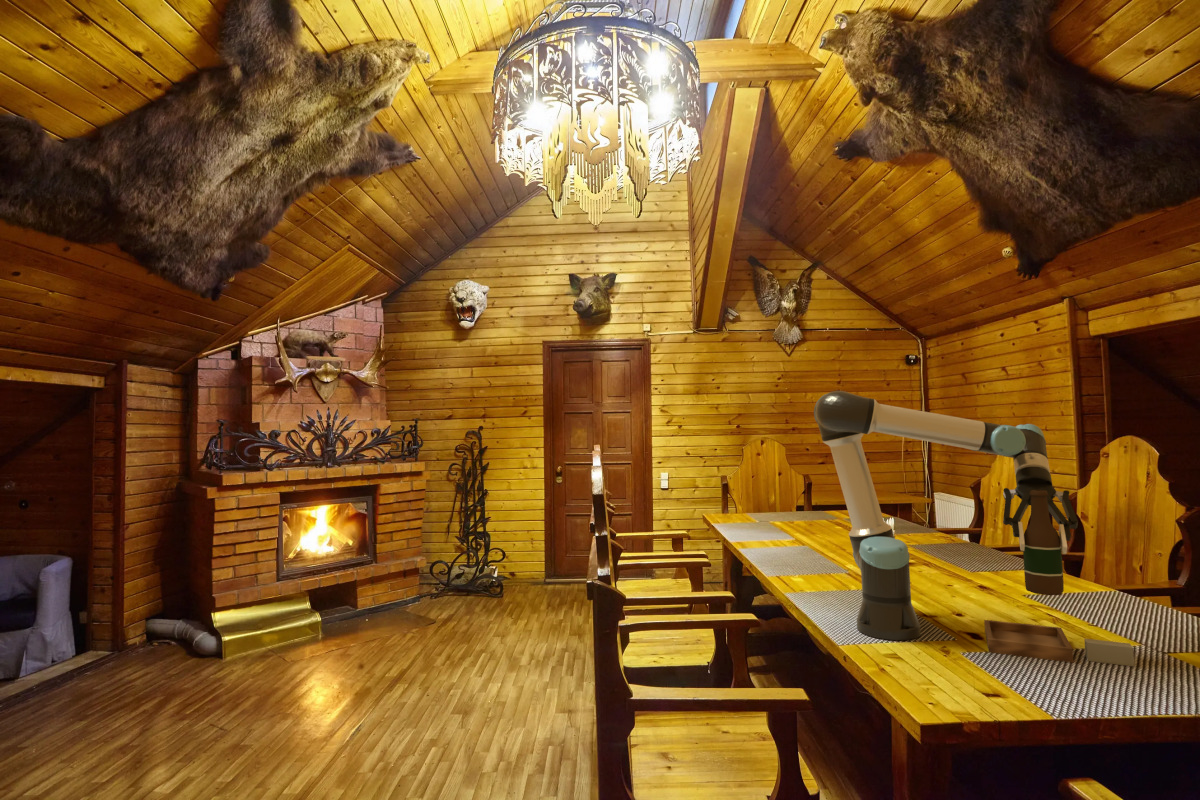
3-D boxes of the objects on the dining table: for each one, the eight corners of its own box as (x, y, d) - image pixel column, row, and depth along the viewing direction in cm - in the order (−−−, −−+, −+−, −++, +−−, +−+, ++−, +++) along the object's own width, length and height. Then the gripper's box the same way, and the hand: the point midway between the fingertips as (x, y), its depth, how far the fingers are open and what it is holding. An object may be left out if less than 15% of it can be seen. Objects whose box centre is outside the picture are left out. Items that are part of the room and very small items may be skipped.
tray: (988, 652, 145) (987, 639, 145) (985, 631, 159) (984, 619, 159) (1073, 662, 138) (1072, 648, 138) (1061, 640, 151) (1061, 627, 152)
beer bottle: (1017, 590, 150) (1011, 490, 151) (1037, 585, 153) (1031, 488, 154) (1052, 597, 142) (1046, 492, 144) (1072, 593, 146) (1065, 490, 147)
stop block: (1088, 660, 138) (1086, 642, 138) (1085, 656, 141) (1084, 638, 141) (1134, 666, 134) (1133, 647, 135) (1130, 661, 137) (1129, 643, 137)
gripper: (986, 463, 163) (992, 536, 148) (1083, 465, 153) (1100, 543, 138) (986, 482, 167) (992, 554, 152) (1080, 485, 157) (1096, 562, 142)
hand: (1043, 548), depth 145 cm, fingers closed on beer bottle, 7 cm apart
